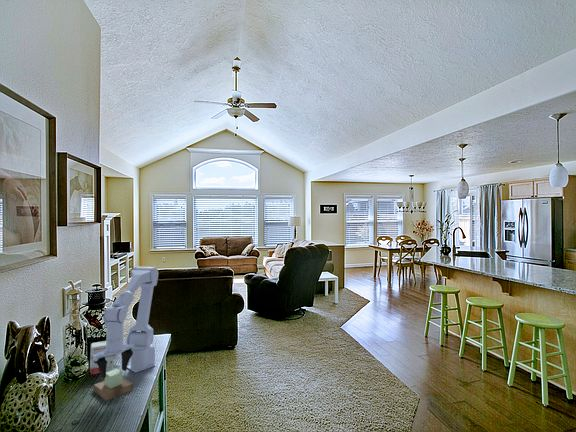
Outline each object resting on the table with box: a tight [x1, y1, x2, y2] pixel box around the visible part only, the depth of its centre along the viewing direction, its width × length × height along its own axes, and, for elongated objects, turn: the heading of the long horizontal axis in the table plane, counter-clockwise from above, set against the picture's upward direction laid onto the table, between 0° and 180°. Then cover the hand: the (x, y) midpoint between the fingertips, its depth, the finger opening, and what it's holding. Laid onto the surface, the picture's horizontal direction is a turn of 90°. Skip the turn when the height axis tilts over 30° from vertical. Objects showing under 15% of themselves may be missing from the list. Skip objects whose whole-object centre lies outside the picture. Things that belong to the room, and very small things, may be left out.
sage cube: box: [104, 368, 124, 388], centre depth 128 cm, size 4×4×4 cm
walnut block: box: [93, 375, 134, 402], centre depth 128 cm, size 10×10×3 cm
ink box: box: [89, 340, 115, 376], centre depth 144 cm, size 8×5×12 cm, turn 123°
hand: (114, 373), depth 128 cm, fingers open, 7 cm apart
